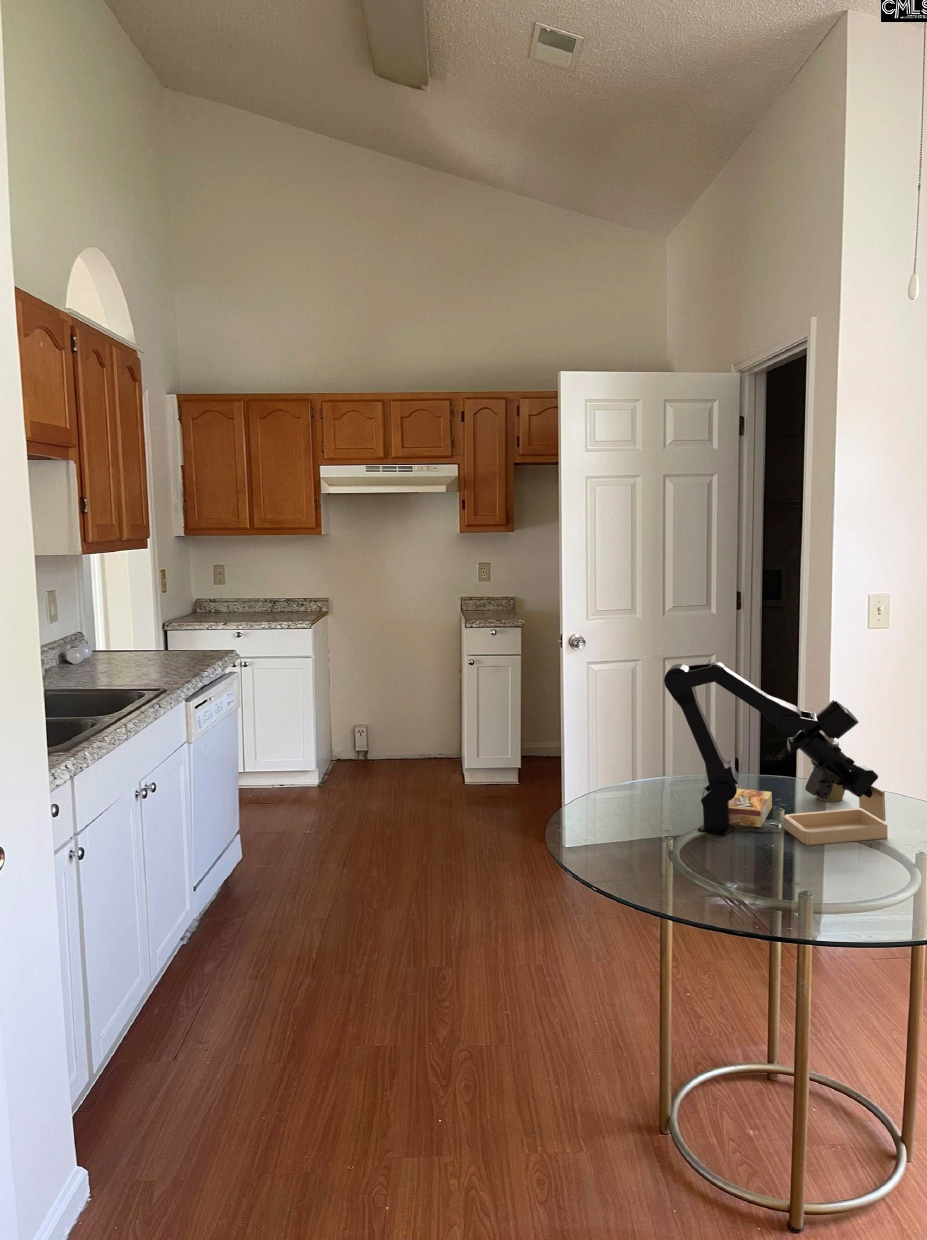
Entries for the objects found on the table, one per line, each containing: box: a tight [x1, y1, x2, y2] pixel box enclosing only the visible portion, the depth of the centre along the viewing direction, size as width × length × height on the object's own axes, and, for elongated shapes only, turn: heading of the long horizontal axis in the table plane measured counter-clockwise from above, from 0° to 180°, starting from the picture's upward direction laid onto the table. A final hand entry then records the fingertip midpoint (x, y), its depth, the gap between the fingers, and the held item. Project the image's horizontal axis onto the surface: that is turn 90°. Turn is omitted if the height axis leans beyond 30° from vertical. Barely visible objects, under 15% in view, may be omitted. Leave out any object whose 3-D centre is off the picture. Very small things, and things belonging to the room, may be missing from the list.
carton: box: [782, 808, 888, 846], centre depth 193 cm, size 18×12×3 cm, turn 94°
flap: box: [858, 784, 887, 822], centre depth 193 cm, size 1×10×7 cm, turn 4°
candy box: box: [728, 788, 773, 828], centre depth 208 cm, size 9×4×15 cm
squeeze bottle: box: [812, 733, 846, 802], centre depth 215 cm, size 8×8×18 cm
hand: (870, 796), depth 193 cm, fingers closed, pressing on flap
